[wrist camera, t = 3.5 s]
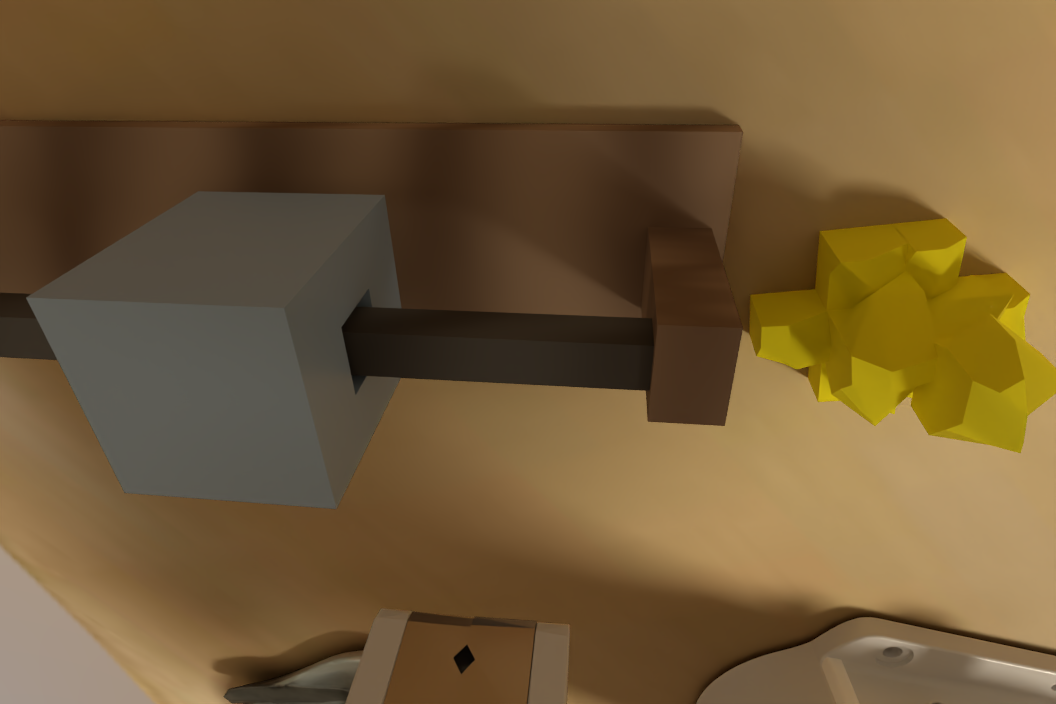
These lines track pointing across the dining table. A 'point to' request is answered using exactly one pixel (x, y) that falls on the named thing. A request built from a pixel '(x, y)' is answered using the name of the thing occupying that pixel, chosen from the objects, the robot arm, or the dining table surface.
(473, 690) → the robot arm
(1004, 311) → the crumpled paper
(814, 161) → the dining table surface
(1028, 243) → the dining table surface
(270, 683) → the salad plate
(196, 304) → the sleeve
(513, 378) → the rail rig
